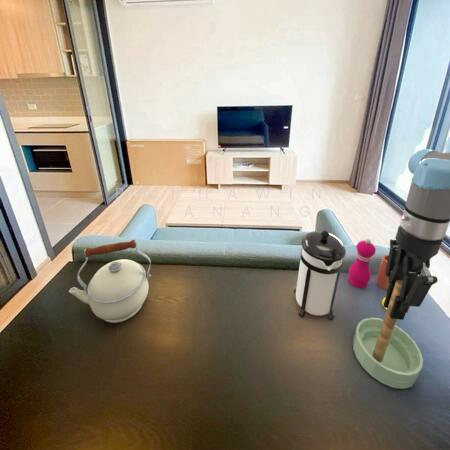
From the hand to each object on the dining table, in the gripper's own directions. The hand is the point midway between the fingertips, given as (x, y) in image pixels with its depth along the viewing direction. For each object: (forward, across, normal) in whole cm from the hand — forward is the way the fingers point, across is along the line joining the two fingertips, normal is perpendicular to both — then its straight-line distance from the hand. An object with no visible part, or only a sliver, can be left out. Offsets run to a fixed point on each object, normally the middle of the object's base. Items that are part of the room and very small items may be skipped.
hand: (393, 312), depth 60 cm
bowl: (+19, -2, +3) cm, 20 cm away
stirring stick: (+17, 0, 0) cm, 17 cm away
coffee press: (+20, -19, -13) cm, 30 cm away
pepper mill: (+20, -29, +6) cm, 36 cm away
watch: (+20, -18, +13) cm, 30 cm away
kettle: (+19, -9, -80) cm, 83 cm away
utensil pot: (+20, -29, +16) cm, 38 cm away
